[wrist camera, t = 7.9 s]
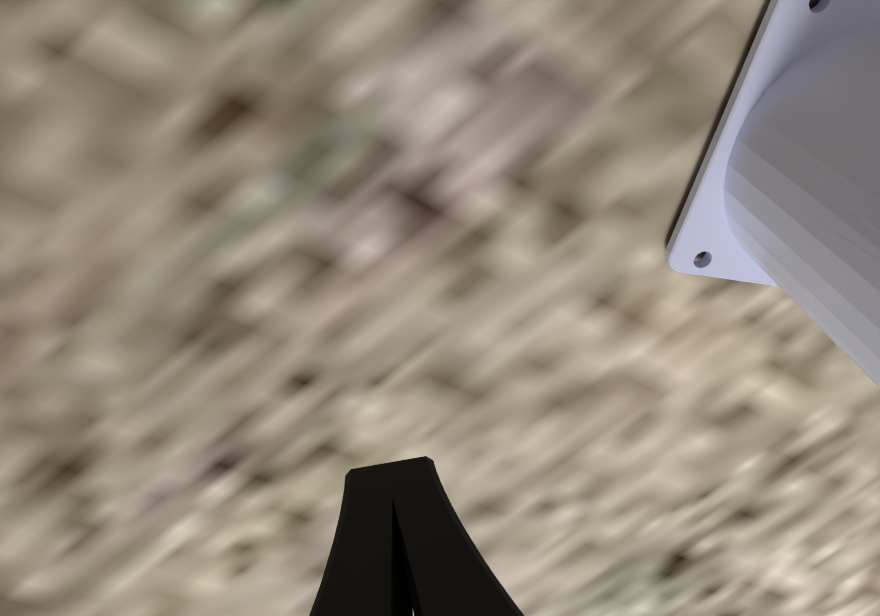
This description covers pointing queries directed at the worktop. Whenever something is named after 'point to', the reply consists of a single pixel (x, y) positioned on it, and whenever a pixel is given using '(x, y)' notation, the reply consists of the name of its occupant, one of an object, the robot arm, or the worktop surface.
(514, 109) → the worktop surface
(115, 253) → the worktop surface
